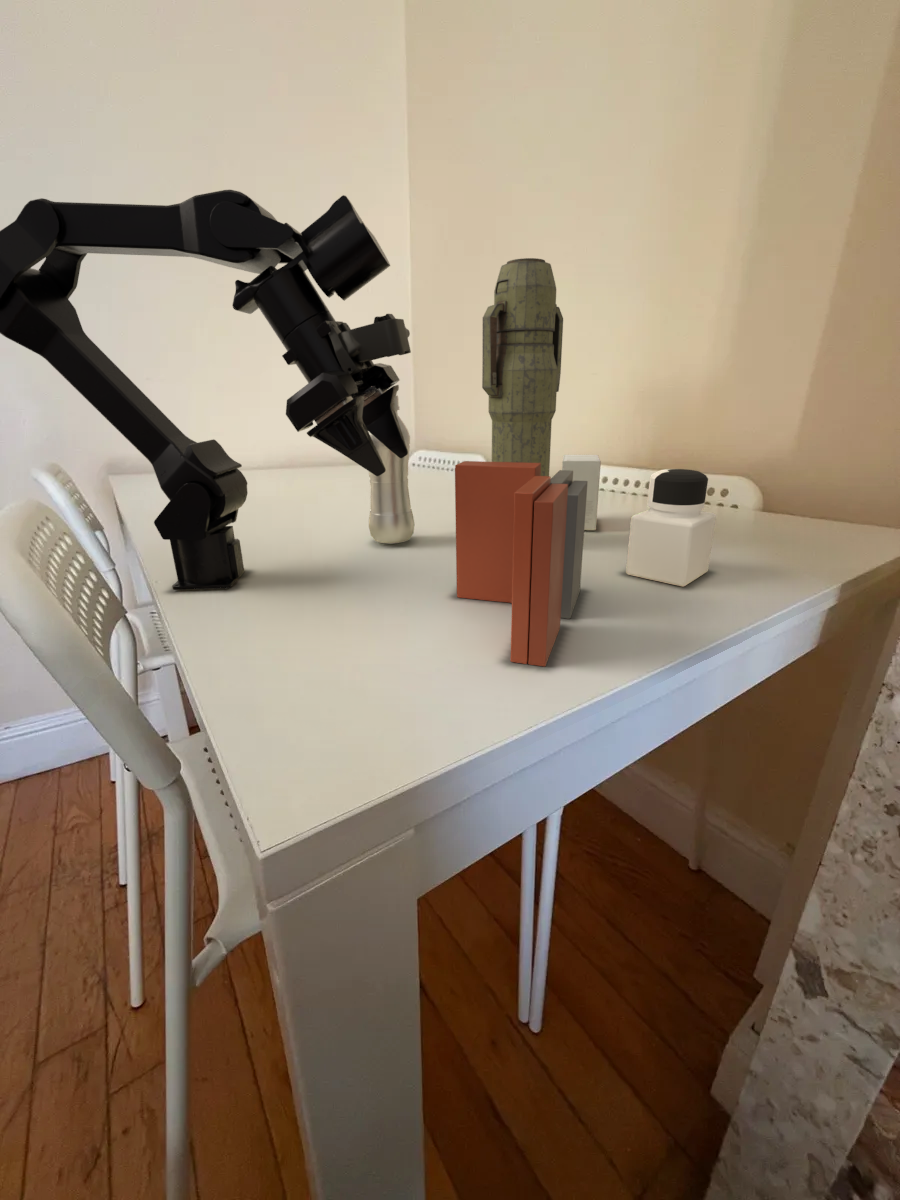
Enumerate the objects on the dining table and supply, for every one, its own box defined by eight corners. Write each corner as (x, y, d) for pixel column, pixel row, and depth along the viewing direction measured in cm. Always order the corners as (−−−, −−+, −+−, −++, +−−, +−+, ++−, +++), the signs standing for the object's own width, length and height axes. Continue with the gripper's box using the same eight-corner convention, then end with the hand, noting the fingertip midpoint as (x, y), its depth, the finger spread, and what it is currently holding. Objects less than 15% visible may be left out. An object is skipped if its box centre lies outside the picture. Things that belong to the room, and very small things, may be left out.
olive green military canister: (466, 543, 81) (464, 262, 69) (523, 529, 88) (531, 272, 76) (511, 556, 75) (517, 249, 62) (568, 540, 82) (585, 261, 69)
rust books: (510, 662, 47) (514, 492, 42) (529, 624, 54) (534, 475, 49) (545, 666, 46) (553, 494, 41) (560, 628, 53) (568, 476, 48)
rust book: (456, 597, 61) (454, 464, 56) (464, 588, 64) (463, 460, 59) (530, 605, 59) (535, 467, 54) (536, 595, 61) (541, 462, 56)
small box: (595, 531, 86) (601, 460, 82) (558, 530, 87) (562, 460, 83) (594, 519, 94) (599, 454, 90) (559, 518, 95) (563, 453, 91)
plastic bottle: (424, 539, 83) (419, 395, 76) (395, 551, 78) (387, 396, 71) (389, 534, 87) (381, 395, 80) (360, 544, 81) (349, 396, 74)
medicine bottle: (708, 572, 67) (724, 469, 63) (684, 588, 63) (699, 478, 58) (651, 560, 72) (662, 464, 68) (624, 574, 67) (634, 471, 63)
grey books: (540, 615, 56) (546, 482, 51) (553, 589, 63) (559, 470, 58) (570, 619, 55) (578, 484, 50) (579, 591, 62) (588, 470, 57)
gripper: (334, 267, 46) (438, 439, 50) (395, 285, 62) (470, 412, 66) (237, 349, 50) (342, 501, 54) (319, 345, 66) (394, 461, 70)
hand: (394, 464), depth 61 cm, fingers open, 9 cm apart
